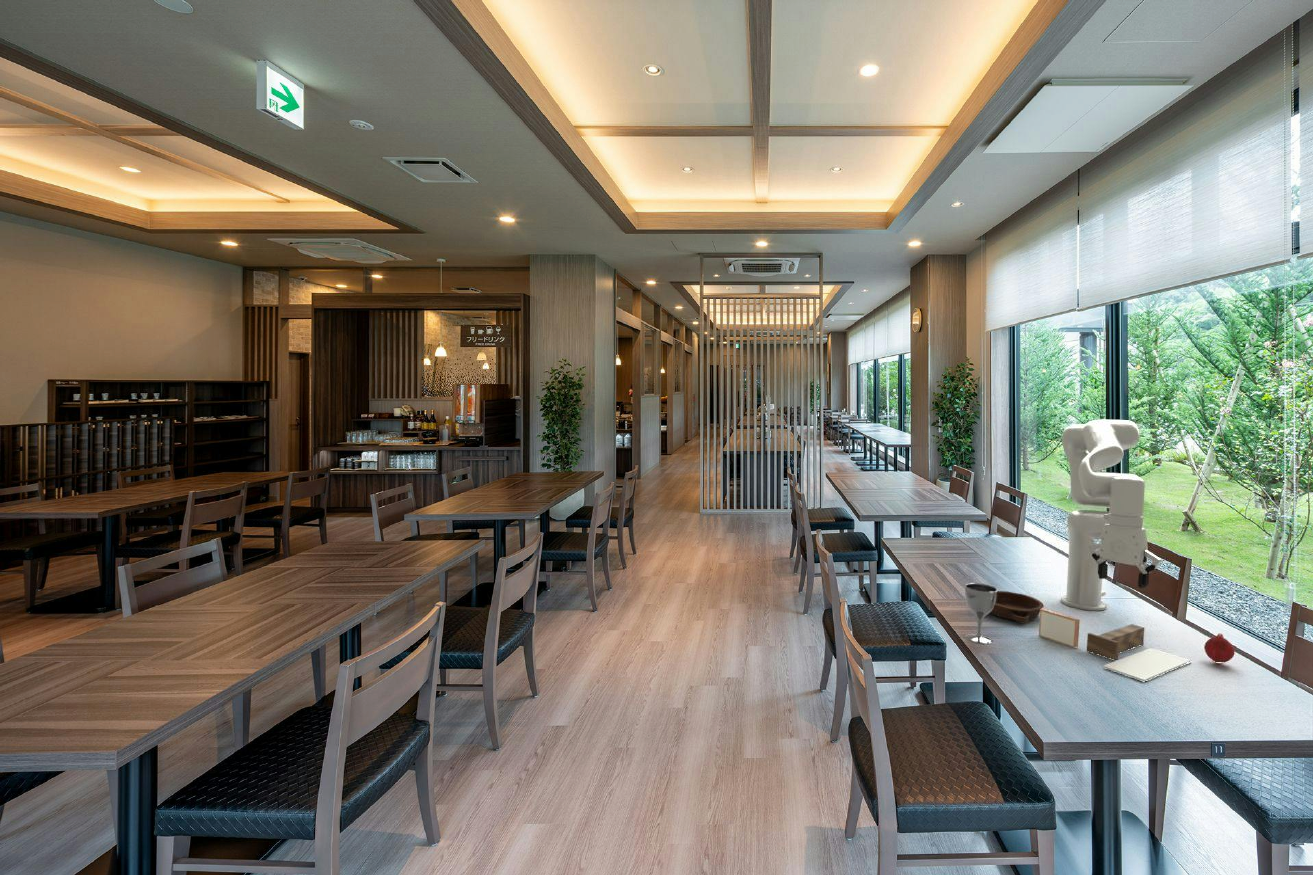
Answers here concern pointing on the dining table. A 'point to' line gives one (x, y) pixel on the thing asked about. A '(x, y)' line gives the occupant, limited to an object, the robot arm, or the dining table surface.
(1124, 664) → the board
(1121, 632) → the brown wooden brick
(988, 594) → the wine glass
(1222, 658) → the onion
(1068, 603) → the robot arm
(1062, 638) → the wooden picture frame
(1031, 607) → the dish
